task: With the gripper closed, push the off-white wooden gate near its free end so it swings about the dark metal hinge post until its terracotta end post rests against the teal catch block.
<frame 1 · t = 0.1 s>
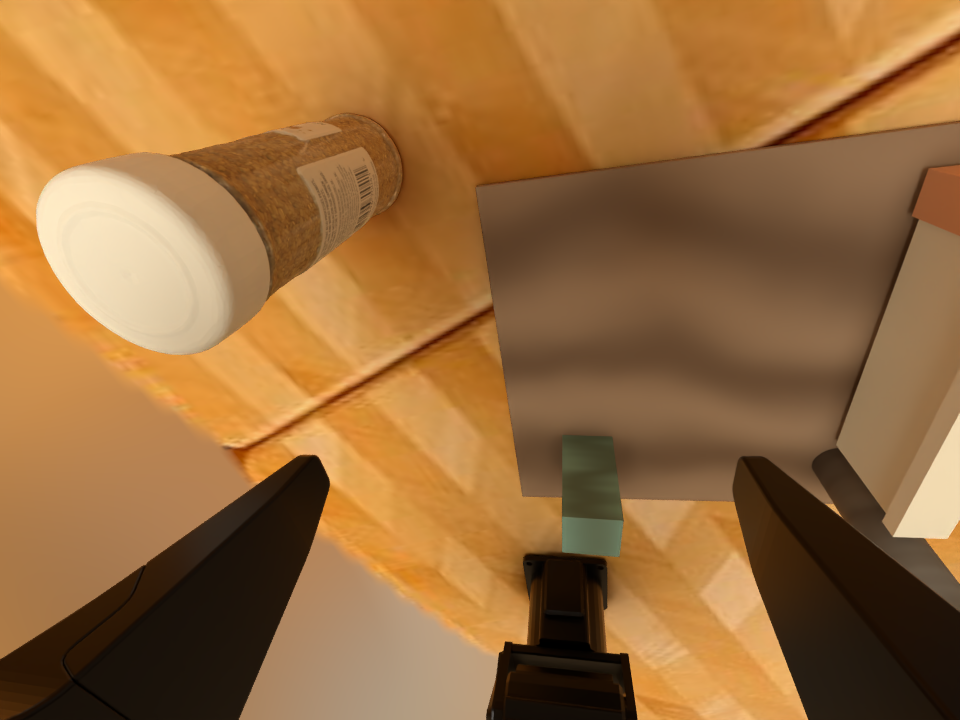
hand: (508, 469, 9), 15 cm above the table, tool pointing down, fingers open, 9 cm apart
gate: (940, 368, 18), point 4 cm above the table, hinge at 0.0°
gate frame: (686, 364, 24), on the table
sprinkles bottle: (361, 166, 21), on the table
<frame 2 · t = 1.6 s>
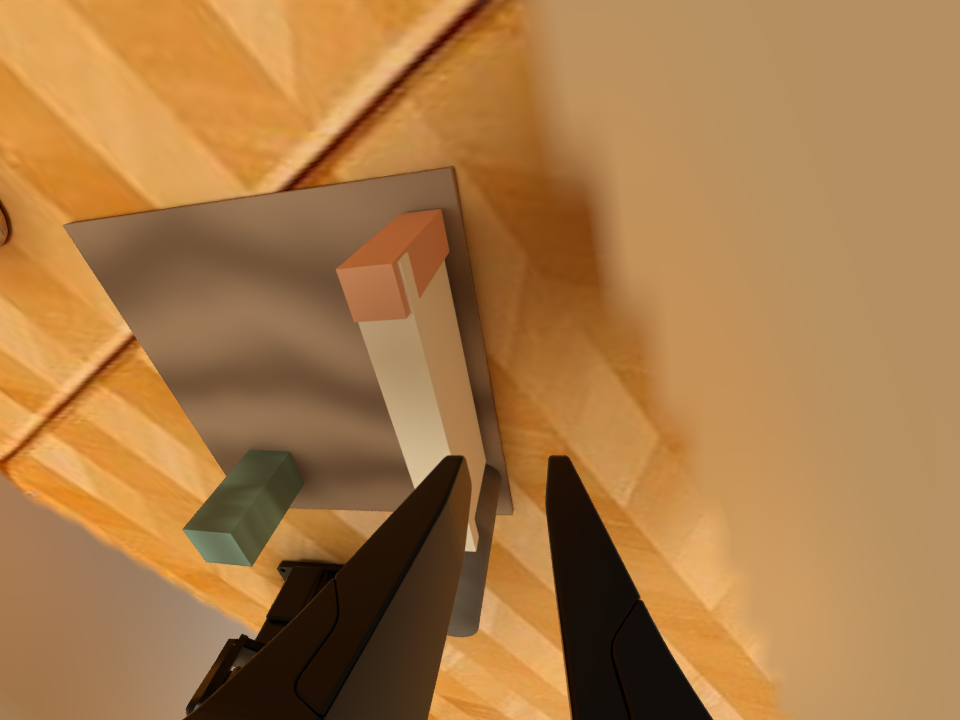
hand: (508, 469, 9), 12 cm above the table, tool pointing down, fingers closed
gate: (438, 395, 19), point 4 cm above the table, hinge at 0.0°
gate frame: (320, 385, 25), on the table
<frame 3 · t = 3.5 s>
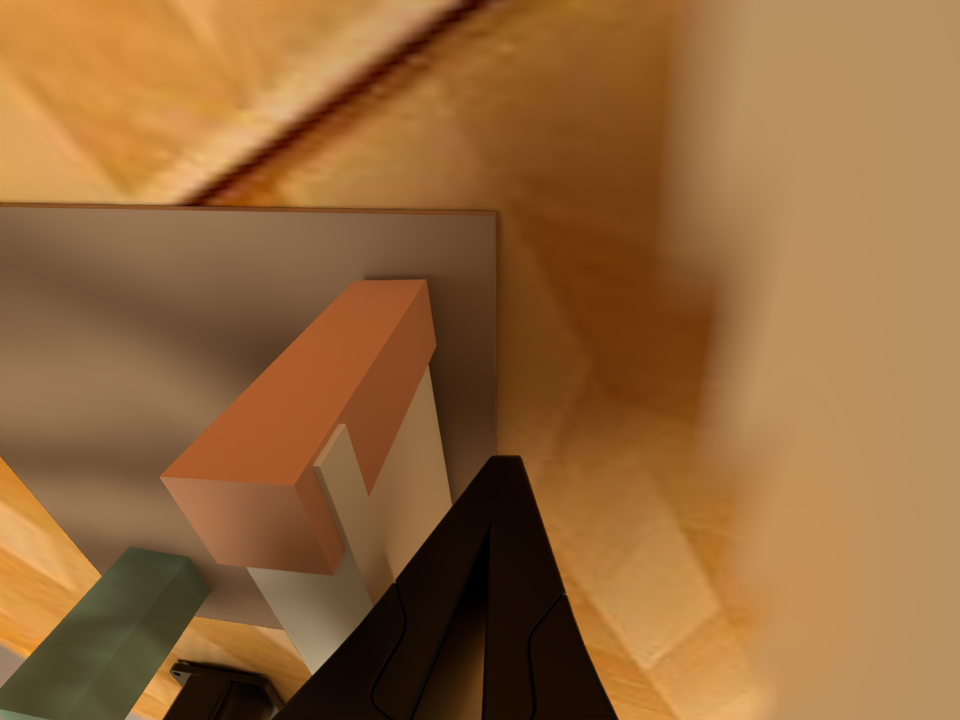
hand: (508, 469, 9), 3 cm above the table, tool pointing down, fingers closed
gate: (403, 579, 12), point 4 cm above the table, hinge at 3.4°, touching gripper
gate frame: (239, 484, 17), on the table
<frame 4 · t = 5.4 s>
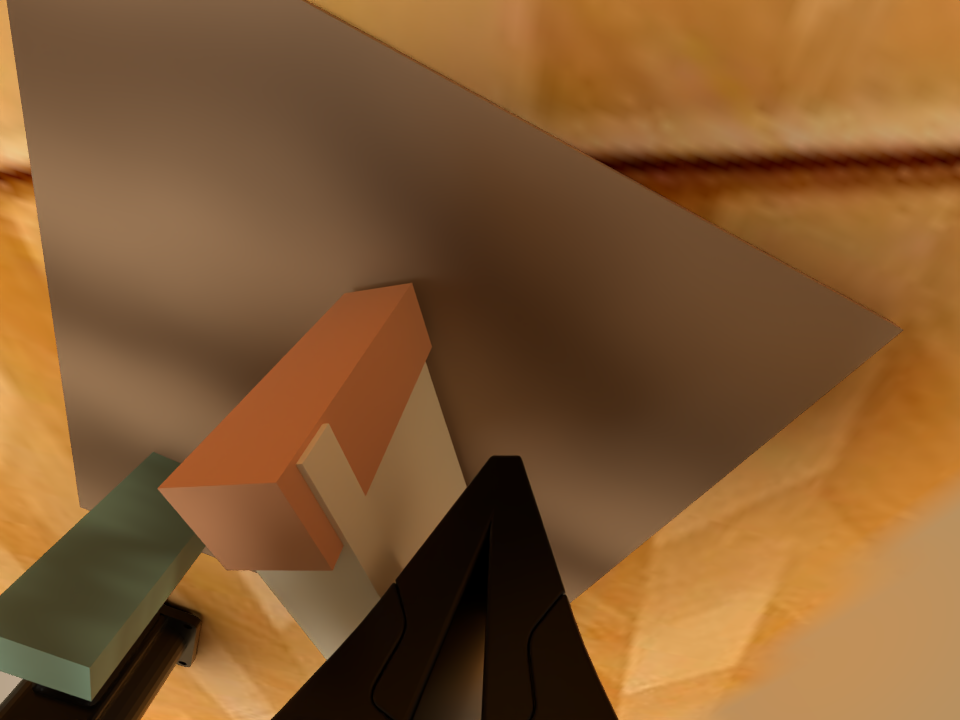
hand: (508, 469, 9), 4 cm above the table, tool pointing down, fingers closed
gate: (427, 580, 12), point 4 cm above the table, hinge at 37.1°, touching gripper
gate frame: (368, 437, 15), on the table
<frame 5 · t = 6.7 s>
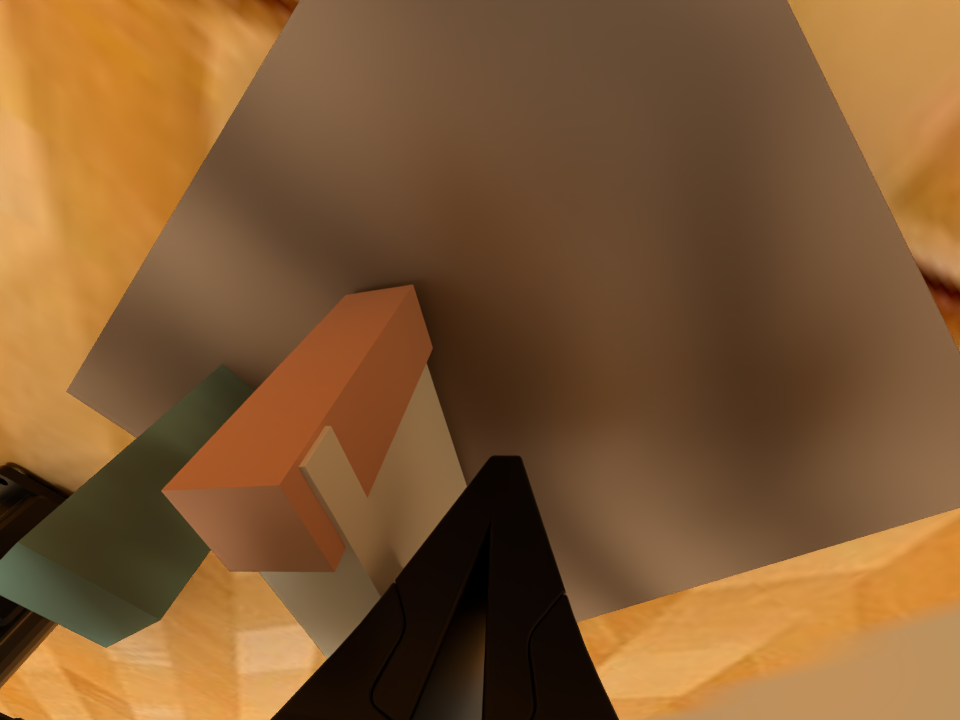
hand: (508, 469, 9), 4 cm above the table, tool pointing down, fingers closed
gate: (427, 580, 12), point 4 cm above the table, hinge at 59.1°, touching gripper
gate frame: (489, 425, 14), on the table
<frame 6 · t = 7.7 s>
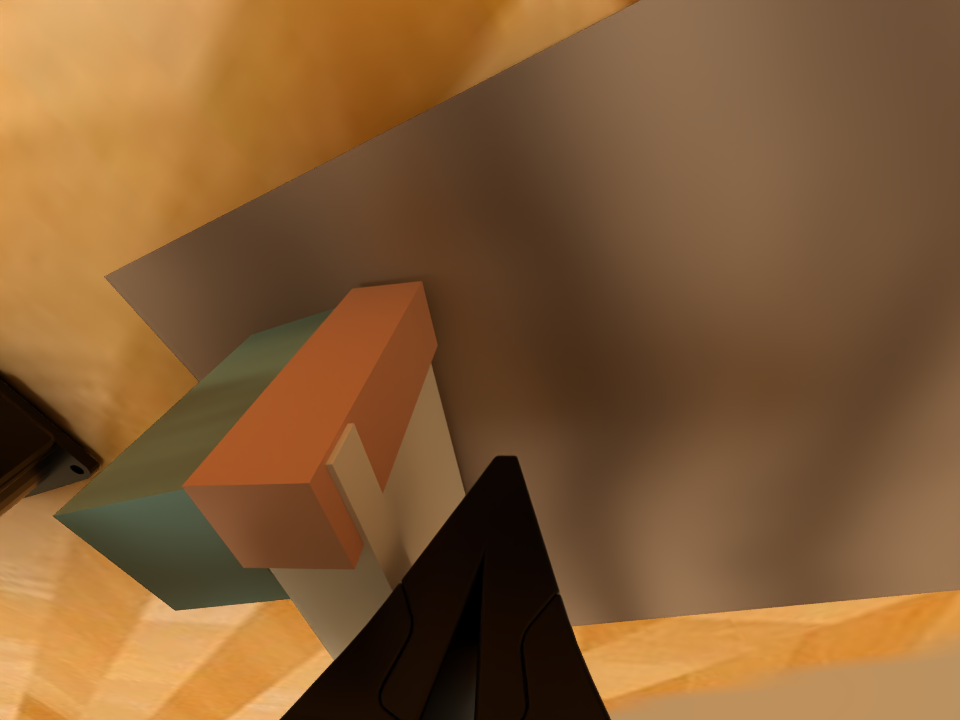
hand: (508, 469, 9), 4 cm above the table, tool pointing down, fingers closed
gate: (424, 575, 12), point 4 cm above the table, hinge at 75.6°, touching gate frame, gripper
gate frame: (587, 440, 14), on the table
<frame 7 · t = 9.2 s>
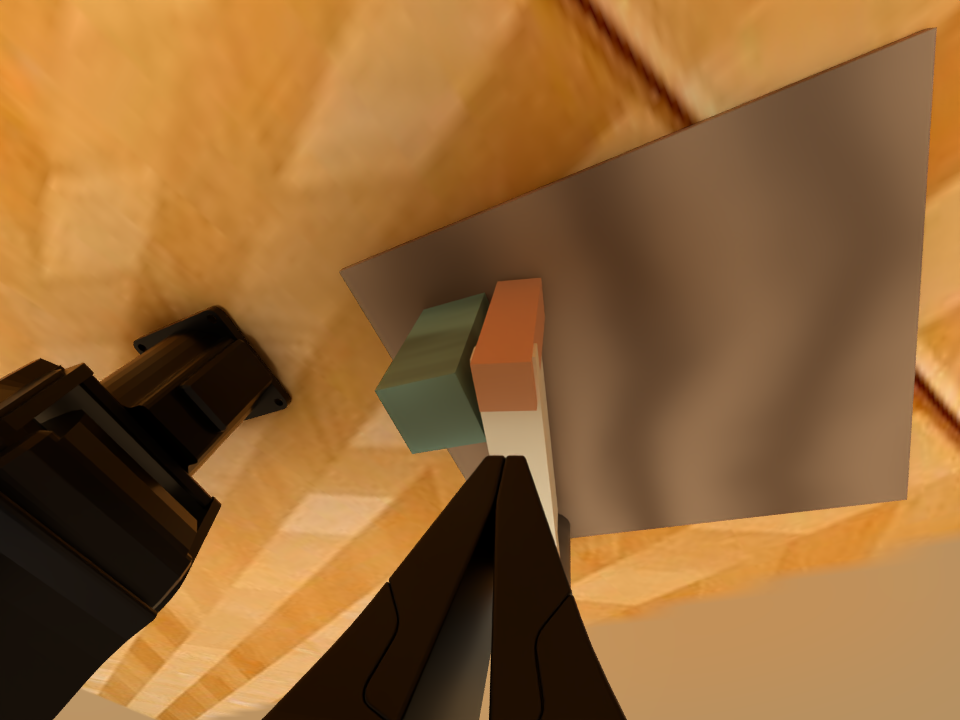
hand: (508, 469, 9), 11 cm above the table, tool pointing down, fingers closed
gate: (531, 461, 19), point 4 cm above the table, hinge at 75.6°, touching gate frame
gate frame: (633, 385, 21), on the table
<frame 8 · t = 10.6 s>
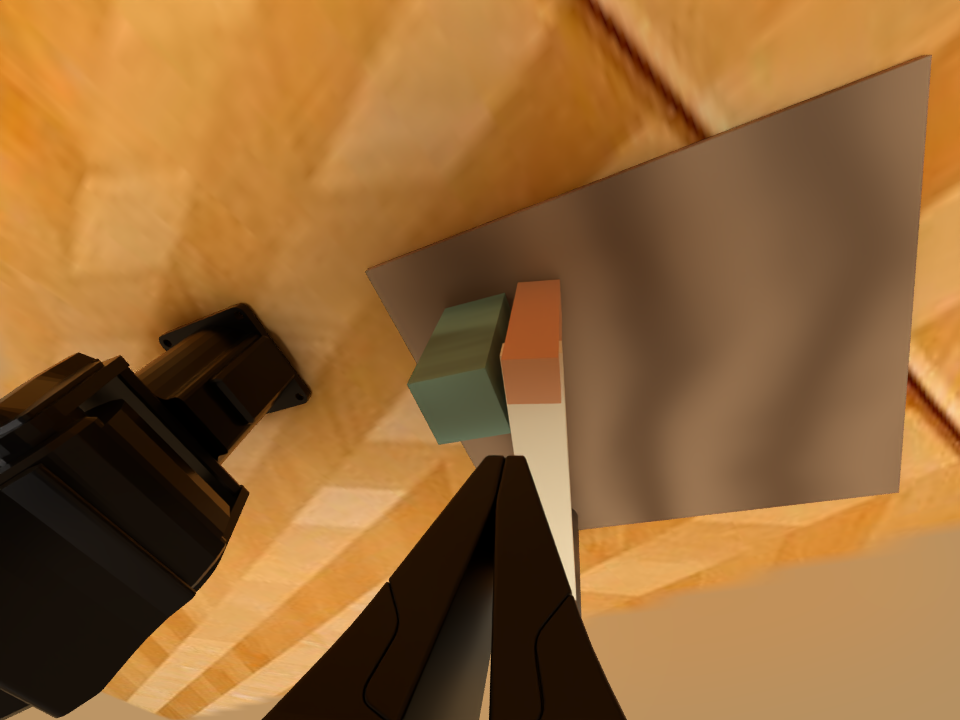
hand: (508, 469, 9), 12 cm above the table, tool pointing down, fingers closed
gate: (547, 453, 20), point 4 cm above the table, hinge at 75.6°, touching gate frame
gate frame: (643, 382, 22), on the table
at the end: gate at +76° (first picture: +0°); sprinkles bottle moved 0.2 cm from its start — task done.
